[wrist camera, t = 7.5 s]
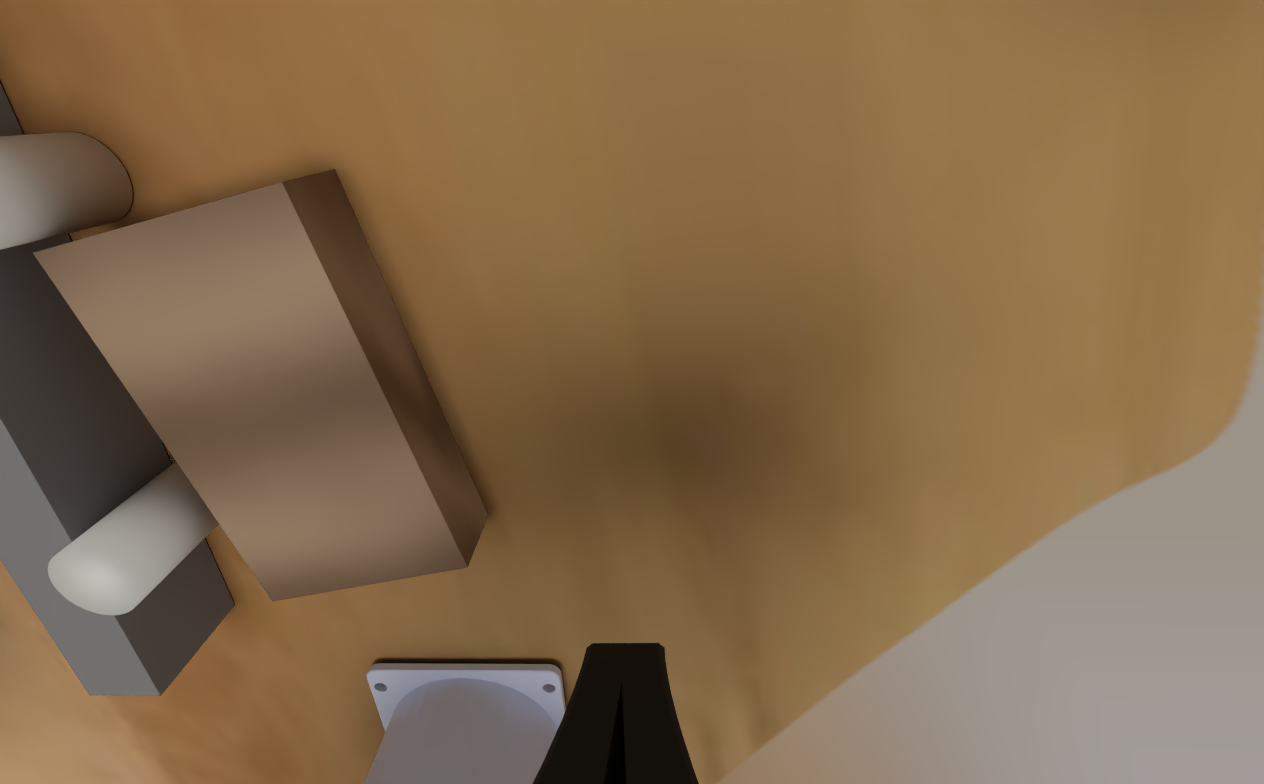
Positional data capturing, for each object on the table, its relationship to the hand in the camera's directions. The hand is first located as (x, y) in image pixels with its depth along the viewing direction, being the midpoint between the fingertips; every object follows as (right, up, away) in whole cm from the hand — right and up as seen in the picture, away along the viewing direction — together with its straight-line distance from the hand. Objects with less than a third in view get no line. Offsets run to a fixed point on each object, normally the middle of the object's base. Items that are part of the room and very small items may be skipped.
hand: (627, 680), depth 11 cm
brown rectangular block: (-10, +6, +8) cm, 14 cm away
